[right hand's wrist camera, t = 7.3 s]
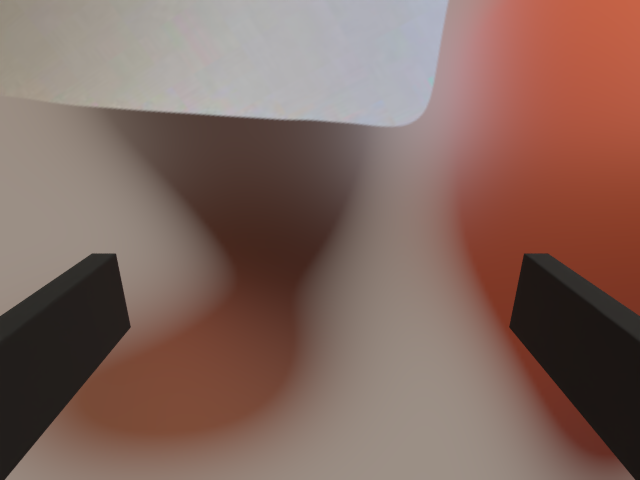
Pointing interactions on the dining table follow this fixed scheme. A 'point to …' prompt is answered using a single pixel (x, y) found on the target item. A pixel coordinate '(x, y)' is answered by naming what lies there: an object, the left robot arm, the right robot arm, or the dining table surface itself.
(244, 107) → the dining table surface
